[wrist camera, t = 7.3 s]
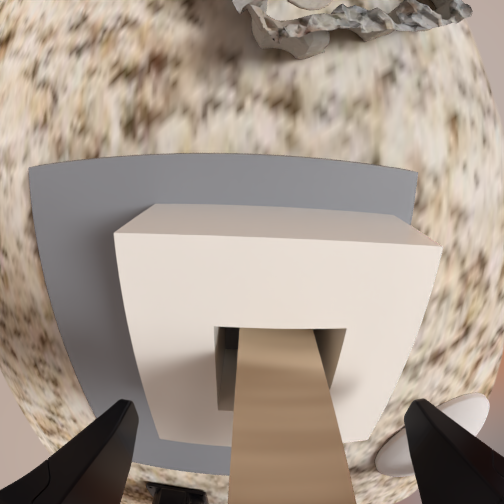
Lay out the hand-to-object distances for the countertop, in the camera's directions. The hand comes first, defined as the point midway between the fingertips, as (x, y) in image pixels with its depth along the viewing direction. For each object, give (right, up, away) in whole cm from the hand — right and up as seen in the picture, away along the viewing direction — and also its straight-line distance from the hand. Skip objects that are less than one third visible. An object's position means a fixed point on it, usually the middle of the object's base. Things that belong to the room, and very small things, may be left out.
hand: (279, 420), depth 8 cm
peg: (0, +2, +6) cm, 6 cm away
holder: (0, +2, +6) cm, 6 cm away
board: (-3, -2, +8) cm, 9 cm away
